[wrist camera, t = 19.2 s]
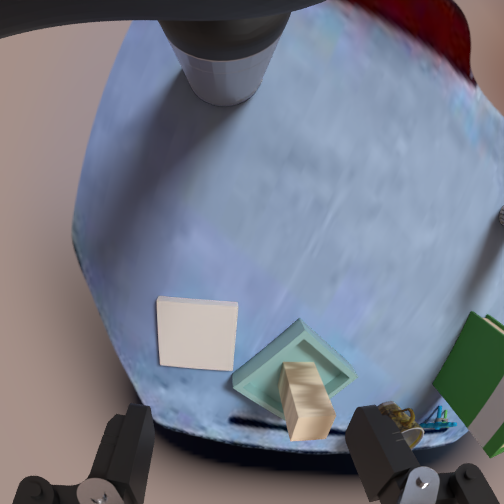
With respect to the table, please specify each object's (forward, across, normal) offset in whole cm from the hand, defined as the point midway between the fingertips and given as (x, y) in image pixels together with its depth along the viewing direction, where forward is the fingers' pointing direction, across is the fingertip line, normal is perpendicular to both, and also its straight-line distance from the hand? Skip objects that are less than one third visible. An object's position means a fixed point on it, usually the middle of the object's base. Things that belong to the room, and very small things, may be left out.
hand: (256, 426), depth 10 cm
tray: (+30, +11, -21) cm, 38 cm away
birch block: (+29, +11, -21) cm, 38 cm away
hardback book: (+30, +49, -20) cm, 61 cm away
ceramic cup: (+30, +33, -33) cm, 55 cm away
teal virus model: (+30, +50, -40) cm, 71 cm away
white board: (+30, -4, -15) cm, 34 cm away
